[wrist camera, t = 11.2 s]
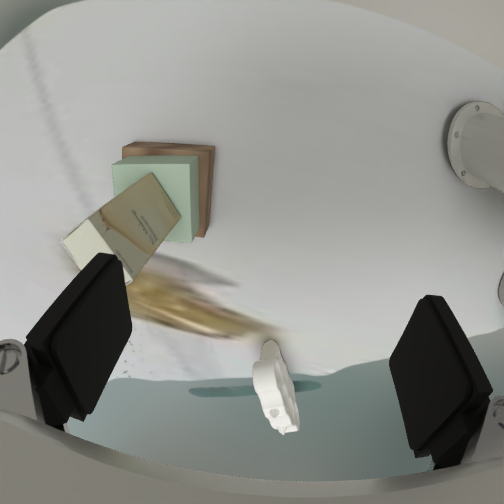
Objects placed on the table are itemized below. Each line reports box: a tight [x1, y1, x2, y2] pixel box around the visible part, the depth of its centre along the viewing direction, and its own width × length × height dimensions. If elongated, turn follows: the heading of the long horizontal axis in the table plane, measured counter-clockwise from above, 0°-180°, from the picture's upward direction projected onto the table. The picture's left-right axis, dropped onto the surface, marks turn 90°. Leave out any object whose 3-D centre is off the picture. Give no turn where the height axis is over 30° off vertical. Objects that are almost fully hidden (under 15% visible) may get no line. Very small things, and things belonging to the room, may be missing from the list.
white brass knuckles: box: [252, 340, 300, 435], centre depth 49 cm, size 3×18×15 cm, turn 18°
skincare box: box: [61, 173, 180, 285], centre depth 28 cm, size 6×4×12 cm
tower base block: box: [122, 142, 215, 238], centre depth 39 cm, size 11×11×4 cm
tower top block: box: [112, 155, 200, 243], centre depth 35 cm, size 9×9×4 cm
